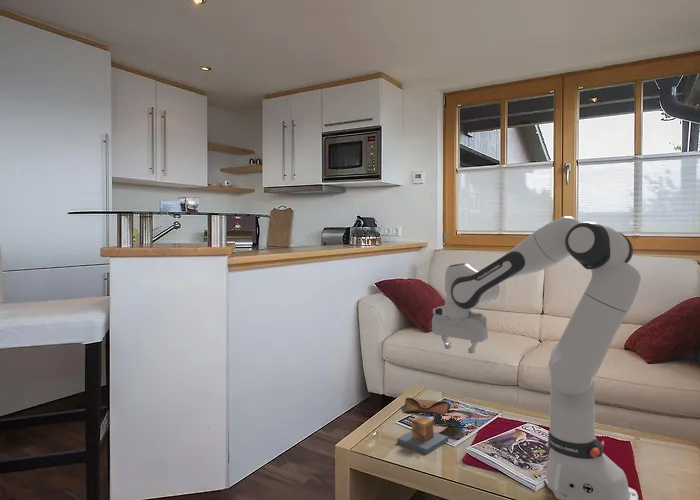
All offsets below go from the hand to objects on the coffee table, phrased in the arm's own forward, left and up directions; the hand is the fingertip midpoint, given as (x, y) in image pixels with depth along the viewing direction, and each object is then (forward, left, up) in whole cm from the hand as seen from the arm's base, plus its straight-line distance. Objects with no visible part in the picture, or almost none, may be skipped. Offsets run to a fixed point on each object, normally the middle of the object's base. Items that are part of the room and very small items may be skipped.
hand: (459, 350), depth 162 cm
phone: (+7, -6, -30) cm, 31 cm away
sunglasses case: (+21, -8, -30) cm, 37 cm away
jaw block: (+6, +14, -28) cm, 31 cm away
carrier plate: (+6, +14, -29) cm, 33 cm away
